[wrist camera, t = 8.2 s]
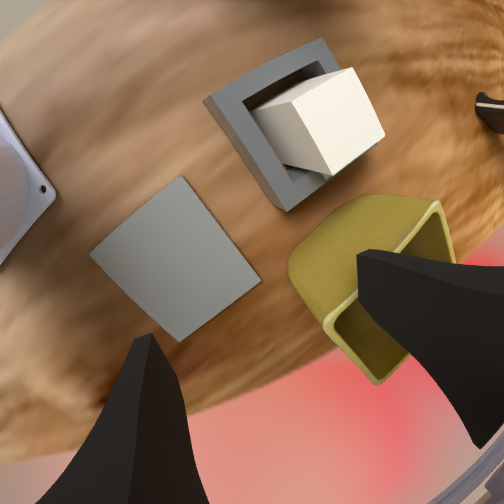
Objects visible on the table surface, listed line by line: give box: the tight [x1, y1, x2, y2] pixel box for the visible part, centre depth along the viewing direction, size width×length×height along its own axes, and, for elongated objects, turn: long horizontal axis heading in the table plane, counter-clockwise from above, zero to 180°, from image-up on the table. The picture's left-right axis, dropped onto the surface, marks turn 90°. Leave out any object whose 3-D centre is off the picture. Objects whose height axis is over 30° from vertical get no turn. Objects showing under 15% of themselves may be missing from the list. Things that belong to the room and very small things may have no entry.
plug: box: [249, 67, 385, 176], centre depth 15 cm, size 4×4×6 cm
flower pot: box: [287, 194, 456, 385], centre depth 18 cm, size 9×9×9 cm
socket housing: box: [203, 37, 377, 212], centre depth 16 cm, size 8×8×3 cm
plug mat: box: [89, 175, 262, 342], centre depth 19 cm, size 9×8×1 cm
